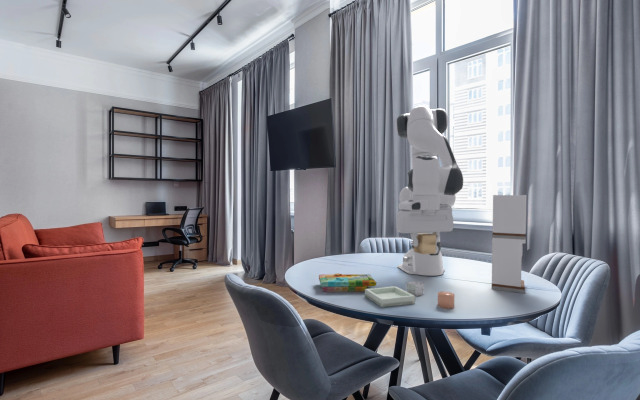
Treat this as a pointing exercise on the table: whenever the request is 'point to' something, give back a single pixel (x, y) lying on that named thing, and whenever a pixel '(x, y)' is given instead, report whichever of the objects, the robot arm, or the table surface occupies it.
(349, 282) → the puzzle game
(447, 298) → the terracotta puck
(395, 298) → the sage tray
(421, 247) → the oak block
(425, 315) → the table surface
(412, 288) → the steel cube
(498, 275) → the striped white tower
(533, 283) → the table surface
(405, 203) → the robot arm
